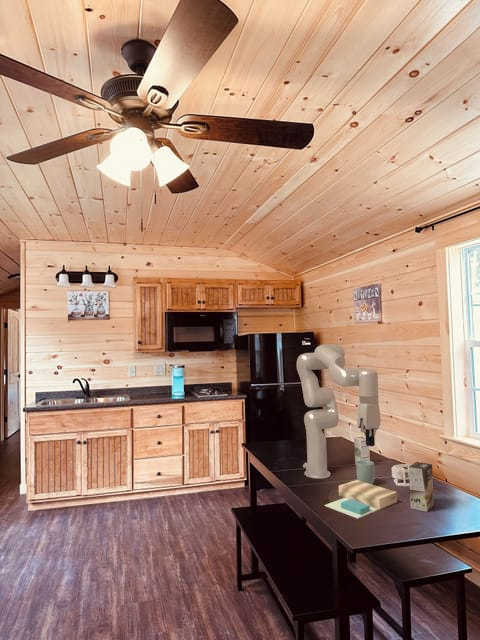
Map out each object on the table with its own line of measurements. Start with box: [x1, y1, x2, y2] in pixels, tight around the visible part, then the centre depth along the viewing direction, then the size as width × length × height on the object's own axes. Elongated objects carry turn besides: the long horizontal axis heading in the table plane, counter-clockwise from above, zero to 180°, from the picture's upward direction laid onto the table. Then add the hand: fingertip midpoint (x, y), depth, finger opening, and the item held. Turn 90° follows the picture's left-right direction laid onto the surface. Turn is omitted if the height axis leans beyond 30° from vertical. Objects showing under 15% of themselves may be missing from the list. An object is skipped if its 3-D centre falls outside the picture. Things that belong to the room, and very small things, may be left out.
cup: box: [355, 460, 376, 485], centre depth 193 cm, size 8×8×10 cm
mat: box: [324, 497, 379, 519], centre depth 166 cm, size 16×12×1 cm
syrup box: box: [353, 436, 371, 466], centre depth 222 cm, size 6×6×14 cm
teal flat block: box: [341, 499, 371, 515], centre depth 164 cm, size 9×6×2 cm, turn 38°
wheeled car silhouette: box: [391, 462, 430, 487], centre depth 196 cm, size 20×11×7 cm, turn 99°
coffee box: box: [409, 461, 435, 513], centre depth 166 cm, size 9×6×16 cm
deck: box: [338, 479, 398, 511], centre depth 176 cm, size 20×12×4 cm, turn 37°
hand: (370, 445), depth 173 cm, fingers closed
